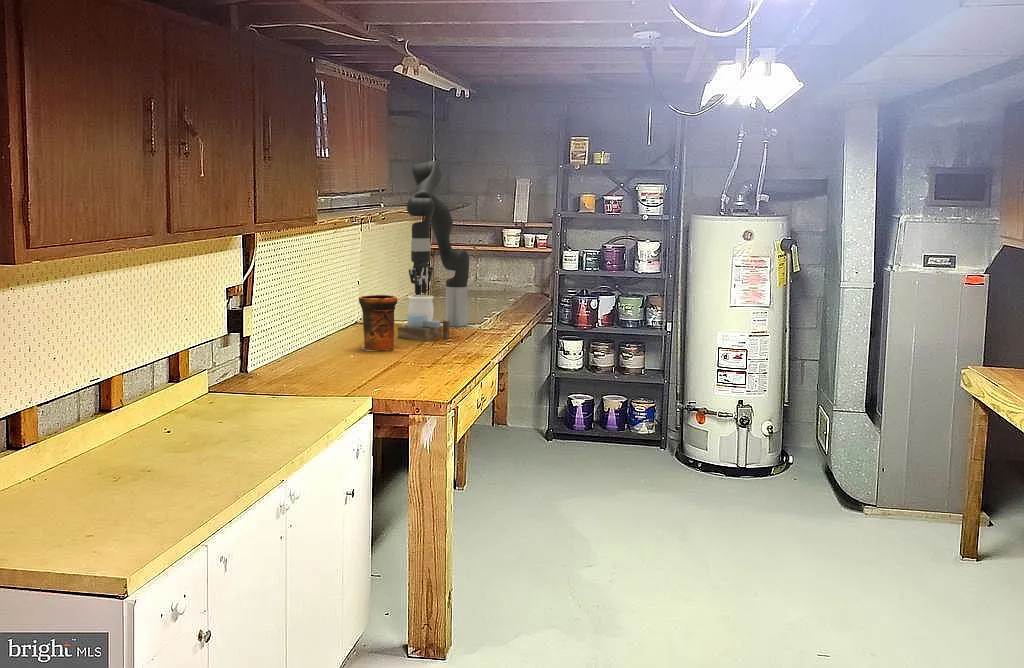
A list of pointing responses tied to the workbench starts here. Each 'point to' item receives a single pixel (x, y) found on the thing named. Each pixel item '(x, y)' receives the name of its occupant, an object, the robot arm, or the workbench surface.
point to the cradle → (423, 332)
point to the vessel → (378, 321)
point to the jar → (421, 305)
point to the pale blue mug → (420, 321)
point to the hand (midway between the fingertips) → (420, 293)
